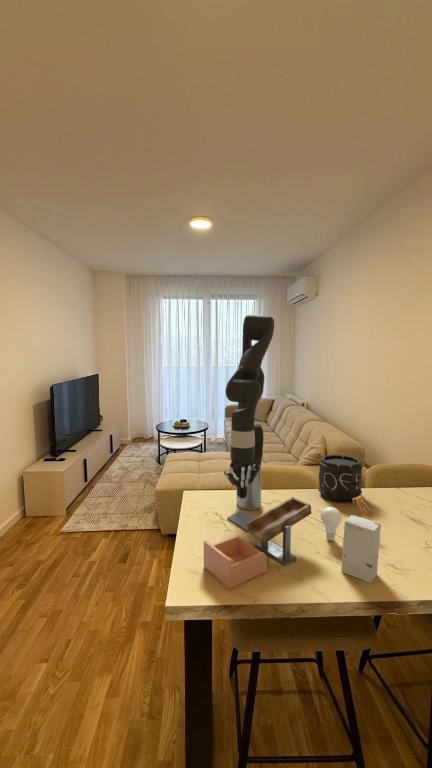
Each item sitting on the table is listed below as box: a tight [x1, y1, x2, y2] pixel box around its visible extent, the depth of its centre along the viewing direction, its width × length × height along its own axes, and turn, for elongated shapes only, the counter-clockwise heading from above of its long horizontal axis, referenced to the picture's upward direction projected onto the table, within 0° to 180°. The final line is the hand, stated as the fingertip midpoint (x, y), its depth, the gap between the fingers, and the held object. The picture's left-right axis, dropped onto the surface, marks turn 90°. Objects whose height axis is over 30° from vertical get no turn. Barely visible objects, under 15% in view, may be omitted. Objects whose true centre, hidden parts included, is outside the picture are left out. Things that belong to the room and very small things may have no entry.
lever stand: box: [254, 513, 298, 567], centre depth 110 cm, size 5×13×10 cm, turn 35°
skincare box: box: [340, 514, 382, 584], centre depth 99 cm, size 8×6×15 cm
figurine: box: [352, 494, 372, 521], centre depth 125 cm, size 8×6×12 cm
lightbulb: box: [320, 506, 342, 542], centre depth 117 cm, size 6×6×11 cm
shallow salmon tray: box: [203, 535, 268, 591], centre depth 101 cm, size 12×13×8 cm
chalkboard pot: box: [317, 454, 364, 504], centre depth 153 cm, size 18×18×16 cm
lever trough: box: [226, 496, 312, 543], centre depth 114 cm, size 20×18×3 cm
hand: (241, 497), depth 113 cm, fingers closed
